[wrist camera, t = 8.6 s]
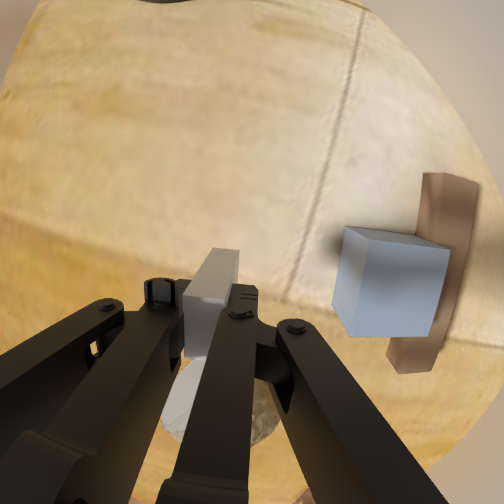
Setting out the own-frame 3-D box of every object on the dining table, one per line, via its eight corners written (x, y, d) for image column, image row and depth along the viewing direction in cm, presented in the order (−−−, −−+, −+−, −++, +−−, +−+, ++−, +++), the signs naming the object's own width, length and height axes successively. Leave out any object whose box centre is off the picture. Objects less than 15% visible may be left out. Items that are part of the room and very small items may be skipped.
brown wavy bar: (423, 172, 22) (444, 172, 19) (455, 181, 22) (477, 182, 19) (385, 354, 26) (398, 374, 23) (416, 353, 26) (431, 371, 23)
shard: (320, 466, 31) (321, 475, 30) (364, 468, 32) (367, 477, 30) (288, 498, 34) (288, 507, 32) (329, 501, 34) (330, 508, 32)
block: (344, 225, 24) (369, 239, 18) (414, 235, 24) (450, 250, 18) (331, 304, 25) (349, 336, 20) (398, 307, 25) (427, 336, 19)
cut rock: (196, 339, 19) (286, 452, 16) (238, 325, 29) (299, 403, 26) (115, 399, 20) (189, 493, 17) (172, 374, 29) (227, 444, 27)
